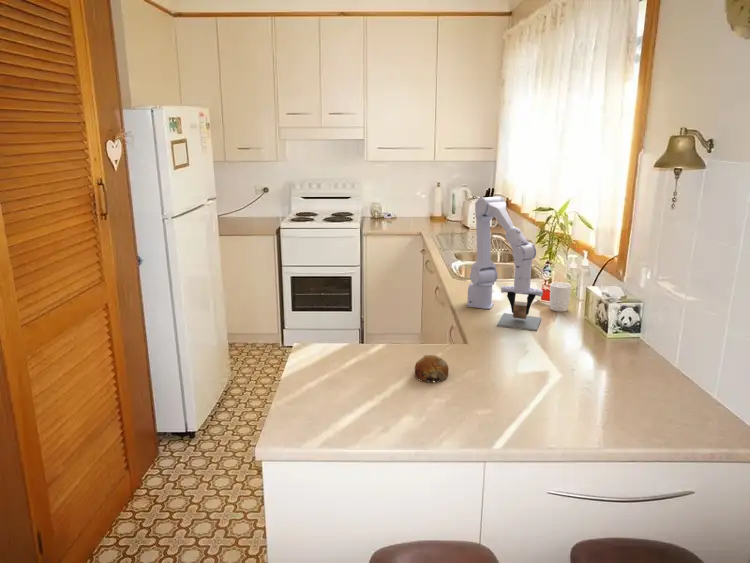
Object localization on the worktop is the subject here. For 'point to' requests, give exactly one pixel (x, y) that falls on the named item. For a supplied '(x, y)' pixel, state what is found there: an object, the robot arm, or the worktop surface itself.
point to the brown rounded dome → (431, 368)
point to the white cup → (559, 296)
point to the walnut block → (520, 310)
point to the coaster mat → (519, 322)
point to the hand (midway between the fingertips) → (520, 312)
